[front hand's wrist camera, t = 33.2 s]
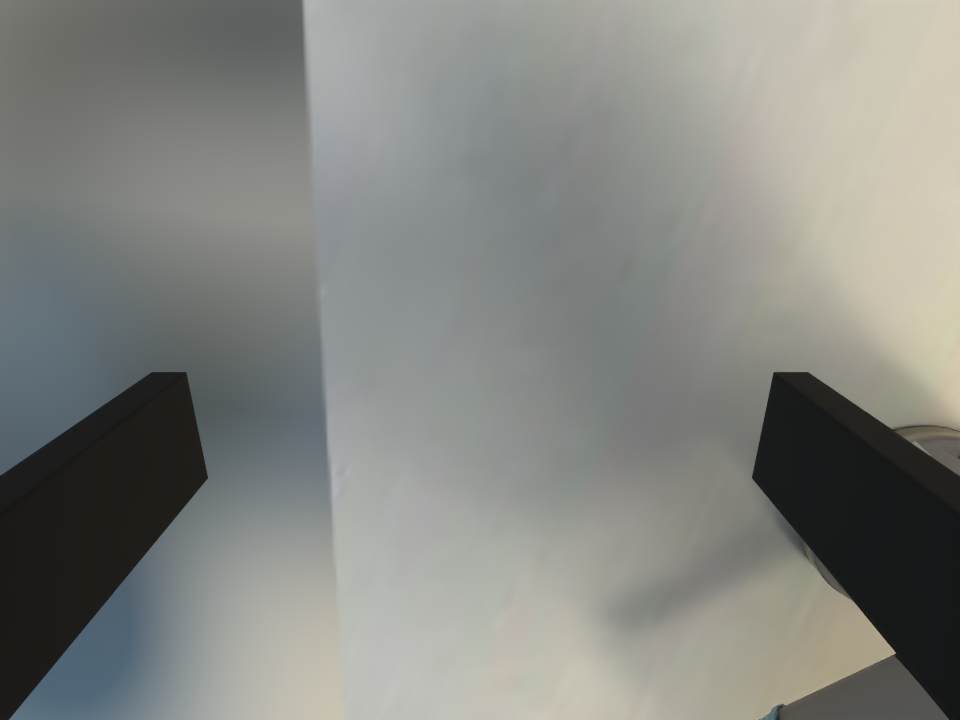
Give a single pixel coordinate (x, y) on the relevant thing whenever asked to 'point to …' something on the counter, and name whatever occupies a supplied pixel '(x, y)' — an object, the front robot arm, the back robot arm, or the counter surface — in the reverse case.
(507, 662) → the counter surface
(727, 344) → the counter surface
